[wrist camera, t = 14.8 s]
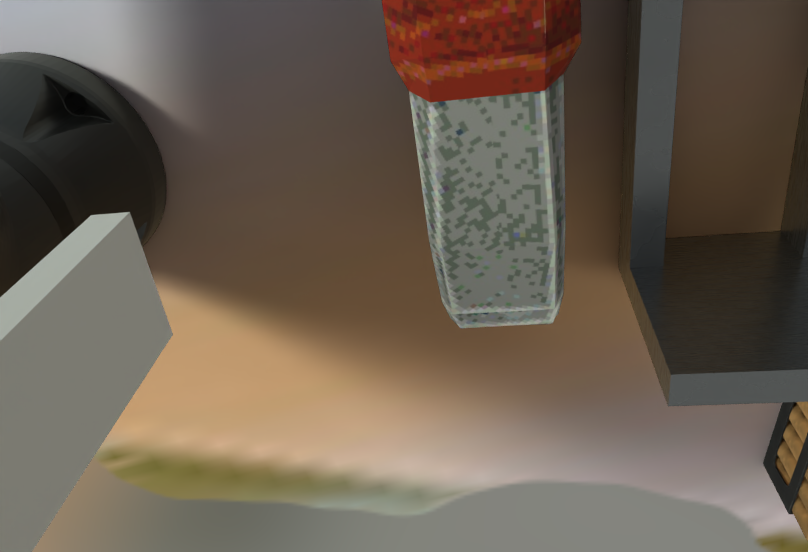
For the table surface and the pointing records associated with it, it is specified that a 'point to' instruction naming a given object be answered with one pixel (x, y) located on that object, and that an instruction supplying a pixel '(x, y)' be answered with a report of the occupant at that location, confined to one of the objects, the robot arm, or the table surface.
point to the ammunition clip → (791, 460)
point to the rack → (706, 252)
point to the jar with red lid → (490, 147)
